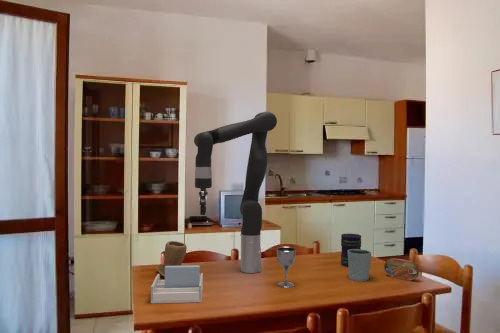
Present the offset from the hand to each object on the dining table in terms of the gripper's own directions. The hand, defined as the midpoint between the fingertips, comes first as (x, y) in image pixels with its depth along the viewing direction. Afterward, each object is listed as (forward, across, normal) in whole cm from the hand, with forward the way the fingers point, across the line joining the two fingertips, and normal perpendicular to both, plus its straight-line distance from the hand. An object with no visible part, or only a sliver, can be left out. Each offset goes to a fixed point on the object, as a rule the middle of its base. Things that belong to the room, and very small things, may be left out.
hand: (203, 213), depth 174 cm
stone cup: (+28, +4, +14) cm, 32 cm away
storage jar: (+28, +15, -73) cm, 80 cm away
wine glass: (+28, -14, -35) cm, 47 cm away
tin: (+28, -8, -88) cm, 93 cm away
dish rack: (+28, -24, +9) cm, 38 cm away
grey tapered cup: (+28, -7, -69) cm, 75 cm away
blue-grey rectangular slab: (+27, -24, +7) cm, 37 cm away
